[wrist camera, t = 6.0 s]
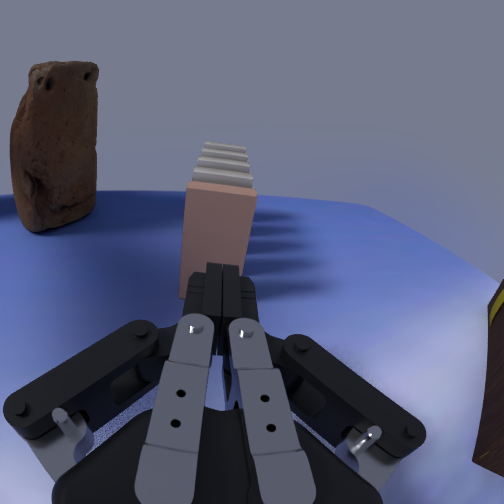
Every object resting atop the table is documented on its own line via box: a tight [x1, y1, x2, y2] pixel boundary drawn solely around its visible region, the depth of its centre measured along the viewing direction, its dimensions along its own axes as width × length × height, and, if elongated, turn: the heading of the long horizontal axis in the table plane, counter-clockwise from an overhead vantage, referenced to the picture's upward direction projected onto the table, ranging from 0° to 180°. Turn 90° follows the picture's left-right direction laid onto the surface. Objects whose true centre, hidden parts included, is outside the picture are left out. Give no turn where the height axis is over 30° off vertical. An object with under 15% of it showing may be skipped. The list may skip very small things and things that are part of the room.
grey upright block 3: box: [197, 156, 250, 173], centre depth 31 cm, size 2×5×10 cm, turn 94°
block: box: [10, 61, 99, 232], centre depth 27 cm, size 11×8×20 cm
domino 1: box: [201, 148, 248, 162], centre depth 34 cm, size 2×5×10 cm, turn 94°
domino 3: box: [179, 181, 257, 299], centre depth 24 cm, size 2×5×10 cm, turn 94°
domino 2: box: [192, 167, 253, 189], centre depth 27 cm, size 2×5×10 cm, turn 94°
